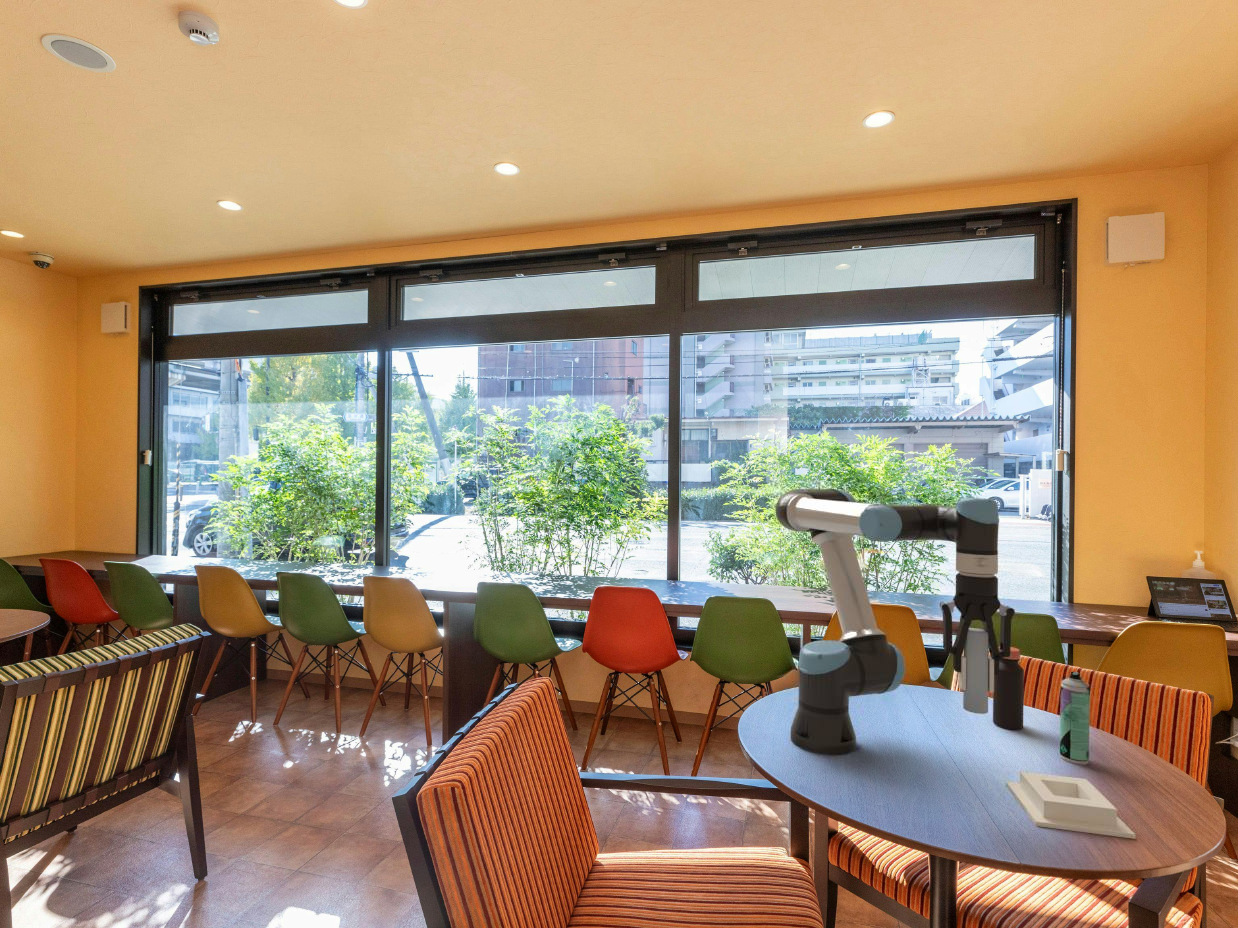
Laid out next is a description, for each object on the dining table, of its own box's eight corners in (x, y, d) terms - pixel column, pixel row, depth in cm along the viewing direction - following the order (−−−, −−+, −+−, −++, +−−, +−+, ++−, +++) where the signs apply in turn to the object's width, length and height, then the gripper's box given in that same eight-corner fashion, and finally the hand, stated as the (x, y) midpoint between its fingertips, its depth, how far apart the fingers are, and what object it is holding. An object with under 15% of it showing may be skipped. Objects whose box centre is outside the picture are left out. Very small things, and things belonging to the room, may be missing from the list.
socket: (1035, 825, 119) (1036, 804, 119) (1005, 784, 135) (1005, 765, 135) (1135, 838, 116) (1135, 816, 116) (1092, 795, 131) (1092, 775, 131)
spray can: (1083, 755, 150) (1085, 670, 150) (1092, 766, 144) (1093, 677, 144) (1056, 752, 151) (1057, 667, 151) (1064, 762, 146) (1065, 674, 146)
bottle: (1023, 723, 168) (1024, 647, 168) (1023, 732, 162) (1024, 653, 163) (993, 718, 172) (994, 643, 172) (992, 726, 166) (993, 649, 166)
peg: (966, 712, 128) (967, 632, 128) (960, 704, 133) (961, 627, 133) (991, 714, 127) (991, 634, 127) (984, 706, 131) (984, 628, 132)
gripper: (934, 574, 129) (933, 690, 128) (1031, 579, 124) (1031, 699, 124) (926, 569, 136) (925, 679, 136) (1018, 573, 132) (1017, 687, 131)
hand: (975, 688), depth 130 cm, fingers closed on peg, 4 cm apart
